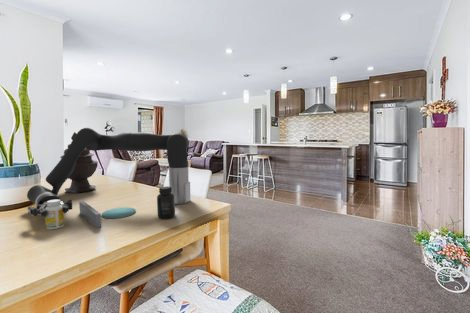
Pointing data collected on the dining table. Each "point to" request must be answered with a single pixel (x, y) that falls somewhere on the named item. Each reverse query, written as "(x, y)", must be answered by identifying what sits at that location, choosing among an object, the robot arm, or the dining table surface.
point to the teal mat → (118, 212)
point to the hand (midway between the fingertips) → (55, 212)
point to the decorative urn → (82, 172)
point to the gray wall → (90, 214)
